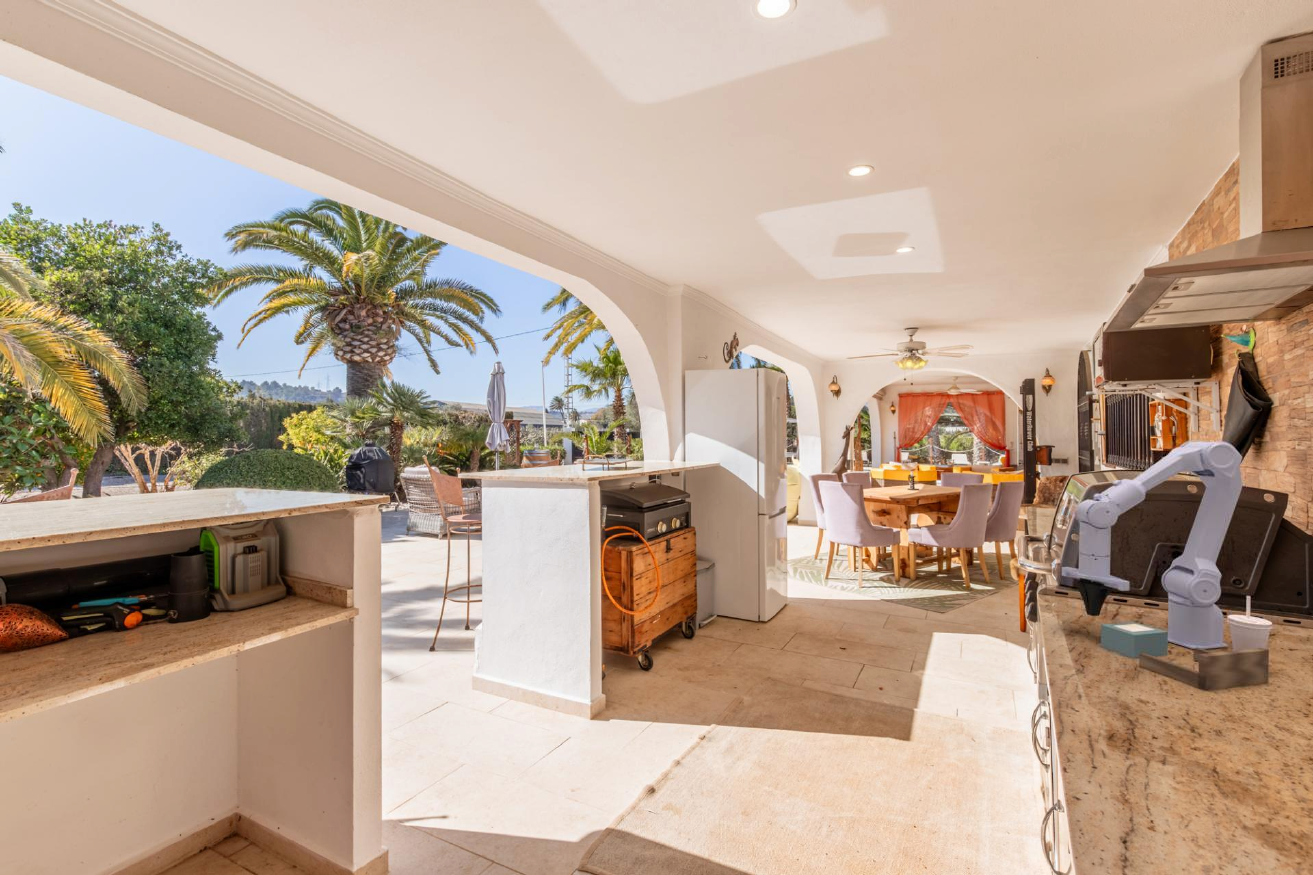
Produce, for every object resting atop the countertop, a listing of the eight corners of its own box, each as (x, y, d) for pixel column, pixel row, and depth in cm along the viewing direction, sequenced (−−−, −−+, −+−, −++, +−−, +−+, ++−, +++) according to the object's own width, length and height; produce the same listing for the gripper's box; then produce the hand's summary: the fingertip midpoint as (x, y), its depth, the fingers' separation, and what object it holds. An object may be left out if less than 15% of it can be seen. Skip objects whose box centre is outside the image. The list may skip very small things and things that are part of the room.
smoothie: (1262, 666, 121) (1263, 595, 121) (1278, 678, 115) (1280, 603, 115) (1220, 661, 124) (1221, 591, 123) (1234, 672, 118) (1235, 598, 118)
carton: (1133, 644, 133) (1133, 621, 133) (1167, 656, 127) (1167, 631, 127) (1100, 648, 131) (1101, 624, 131) (1134, 659, 124) (1134, 634, 124)
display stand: (1197, 659, 124) (1198, 630, 124) (1268, 682, 113) (1268, 650, 113) (1138, 666, 120) (1139, 635, 120) (1205, 690, 109) (1206, 656, 109)
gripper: (1051, 548, 143) (1050, 607, 144) (1111, 561, 129) (1110, 626, 130) (1075, 547, 145) (1074, 605, 145) (1137, 560, 131) (1136, 624, 131)
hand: (1093, 615), depth 138 cm, fingers closed
